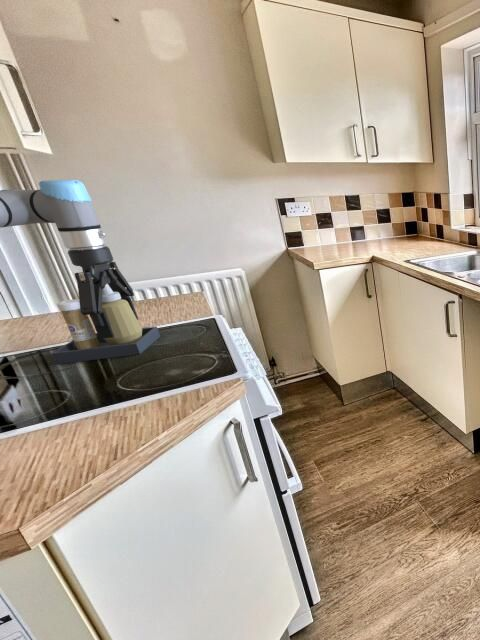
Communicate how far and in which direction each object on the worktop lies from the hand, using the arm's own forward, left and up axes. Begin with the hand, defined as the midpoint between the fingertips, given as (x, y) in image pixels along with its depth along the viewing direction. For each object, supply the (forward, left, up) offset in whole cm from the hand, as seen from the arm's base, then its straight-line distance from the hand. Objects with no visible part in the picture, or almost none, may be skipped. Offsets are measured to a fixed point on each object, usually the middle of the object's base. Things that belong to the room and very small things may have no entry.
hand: (120, 328), depth 111 cm
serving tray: (-3, 0, -5) cm, 6 cm away
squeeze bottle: (0, 0, -5) cm, 5 cm away
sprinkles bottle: (-8, 0, -5) cm, 9 cm away
